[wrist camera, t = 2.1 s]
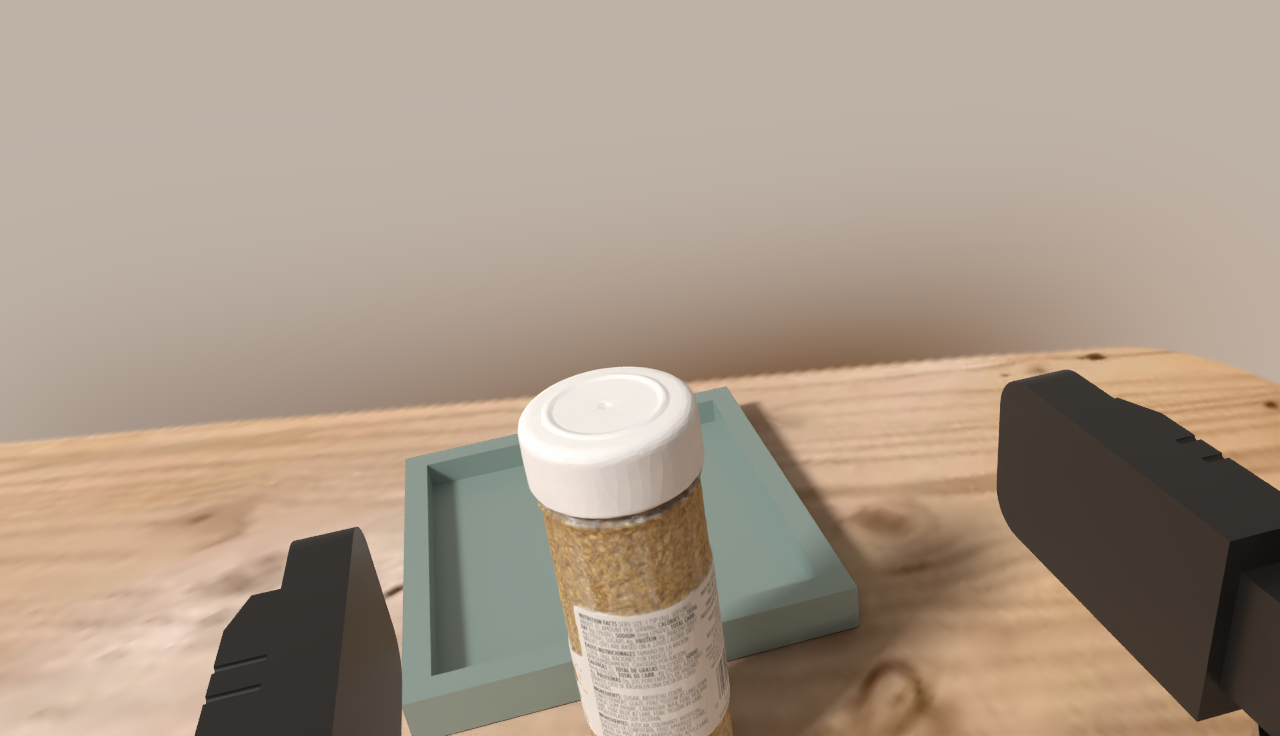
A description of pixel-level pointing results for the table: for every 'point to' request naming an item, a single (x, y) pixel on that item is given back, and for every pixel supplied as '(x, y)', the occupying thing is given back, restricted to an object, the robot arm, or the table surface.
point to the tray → (528, 590)
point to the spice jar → (631, 549)
